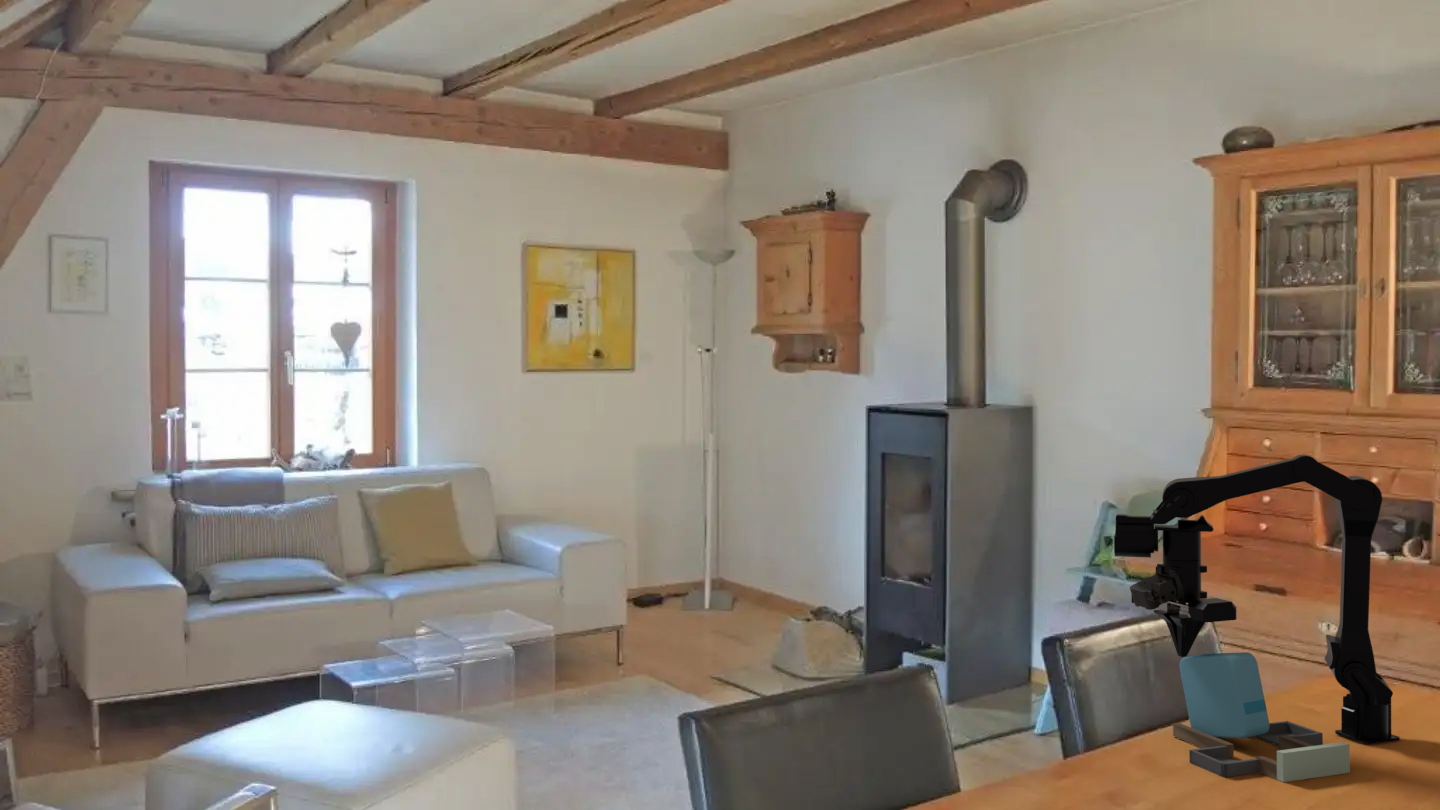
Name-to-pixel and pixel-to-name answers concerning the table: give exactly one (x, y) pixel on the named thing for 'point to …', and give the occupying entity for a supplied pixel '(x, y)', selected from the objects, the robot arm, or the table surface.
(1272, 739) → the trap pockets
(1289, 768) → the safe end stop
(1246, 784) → the table surface
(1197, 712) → the blue rounded slab
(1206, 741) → the lane rails
